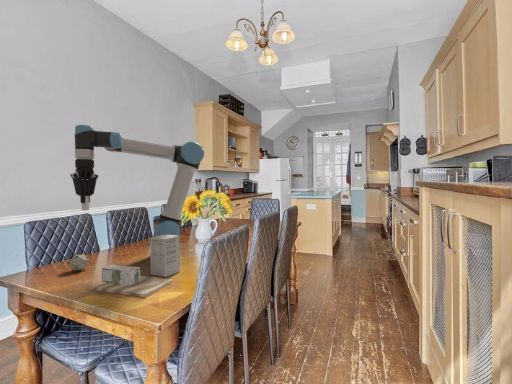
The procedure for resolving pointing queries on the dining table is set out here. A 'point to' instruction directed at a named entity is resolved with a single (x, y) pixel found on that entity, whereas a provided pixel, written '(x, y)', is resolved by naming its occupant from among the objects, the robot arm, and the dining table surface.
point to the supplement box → (165, 255)
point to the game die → (78, 262)
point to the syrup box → (121, 274)
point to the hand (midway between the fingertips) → (85, 209)
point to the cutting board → (137, 287)
